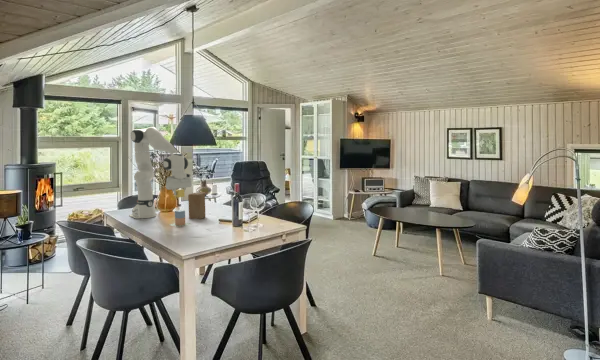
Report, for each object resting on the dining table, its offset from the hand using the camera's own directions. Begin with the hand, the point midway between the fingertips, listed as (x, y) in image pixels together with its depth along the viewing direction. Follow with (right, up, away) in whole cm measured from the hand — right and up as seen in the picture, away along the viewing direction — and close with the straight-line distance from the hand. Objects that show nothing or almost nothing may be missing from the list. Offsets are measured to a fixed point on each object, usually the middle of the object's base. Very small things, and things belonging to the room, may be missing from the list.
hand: (179, 194), depth 270 cm
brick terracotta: (0, -22, +2) cm, 22 cm away
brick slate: (0, -17, +2) cm, 17 cm away
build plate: (0, -23, +2) cm, 23 cm away
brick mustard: (0, -2, 0) cm, 2 cm away
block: (+6, -20, +27) cm, 35 cm away
